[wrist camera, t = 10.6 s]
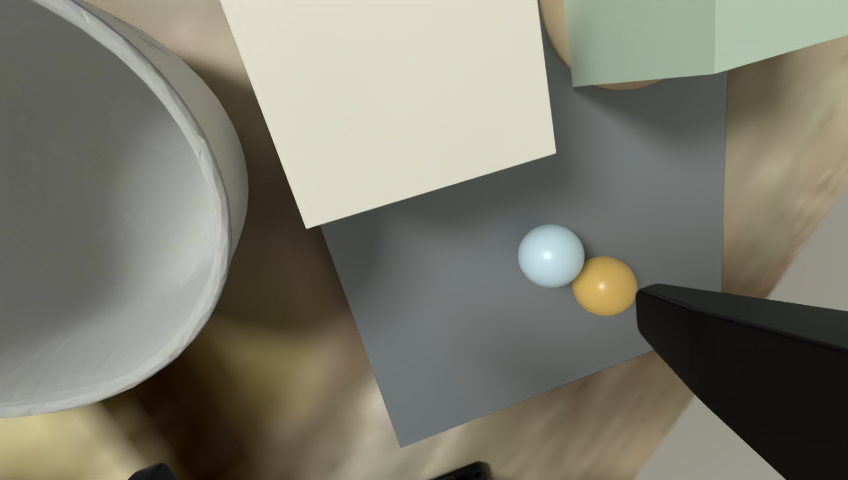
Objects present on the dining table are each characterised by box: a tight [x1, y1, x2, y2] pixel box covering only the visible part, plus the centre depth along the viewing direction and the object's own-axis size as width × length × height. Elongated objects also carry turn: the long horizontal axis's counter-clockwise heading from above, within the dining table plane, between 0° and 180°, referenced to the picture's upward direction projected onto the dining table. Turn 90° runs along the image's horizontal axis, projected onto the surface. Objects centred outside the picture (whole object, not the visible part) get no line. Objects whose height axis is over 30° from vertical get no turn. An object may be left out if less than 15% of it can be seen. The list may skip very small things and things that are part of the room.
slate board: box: [320, 0, 727, 448], centre depth 19 cm, size 26×21×1 cm
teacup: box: [0, 0, 249, 418], centre depth 12 cm, size 14×11×8 cm
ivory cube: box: [220, 0, 556, 229], centre depth 13 cm, size 7×7×7 cm
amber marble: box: [572, 256, 637, 316], centre depth 20 cm, size 3×3×3 cm
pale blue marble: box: [518, 224, 585, 288], centre depth 19 cm, size 3×3×3 cm
